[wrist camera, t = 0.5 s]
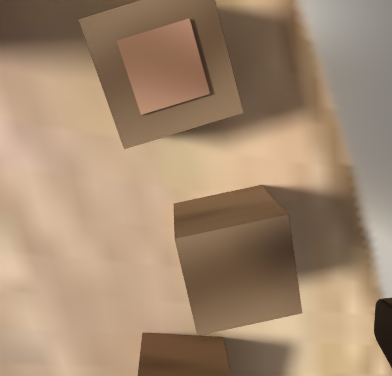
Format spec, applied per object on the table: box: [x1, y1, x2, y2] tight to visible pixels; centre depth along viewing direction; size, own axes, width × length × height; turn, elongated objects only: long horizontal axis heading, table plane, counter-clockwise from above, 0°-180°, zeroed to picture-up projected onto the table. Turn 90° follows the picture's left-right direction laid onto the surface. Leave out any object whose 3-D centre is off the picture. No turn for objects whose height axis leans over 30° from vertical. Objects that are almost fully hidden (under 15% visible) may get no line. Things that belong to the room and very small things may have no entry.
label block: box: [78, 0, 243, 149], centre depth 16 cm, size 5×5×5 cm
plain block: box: [174, 185, 302, 336], centre depth 19 cm, size 5×5×5 cm
